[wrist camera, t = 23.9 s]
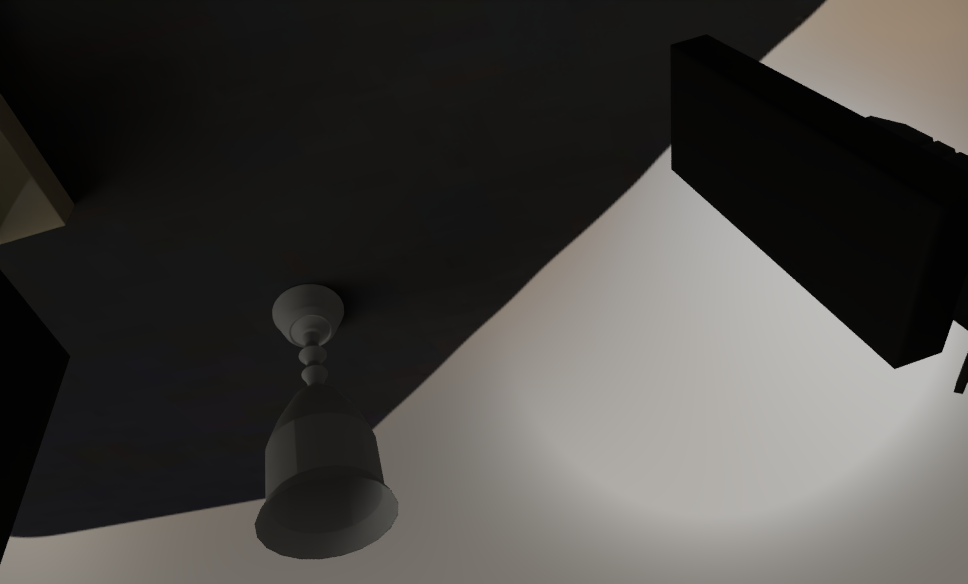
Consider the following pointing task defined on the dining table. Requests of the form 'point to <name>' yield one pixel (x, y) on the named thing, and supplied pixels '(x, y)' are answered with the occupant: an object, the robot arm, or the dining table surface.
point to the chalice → (320, 450)
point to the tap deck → (26, 184)
